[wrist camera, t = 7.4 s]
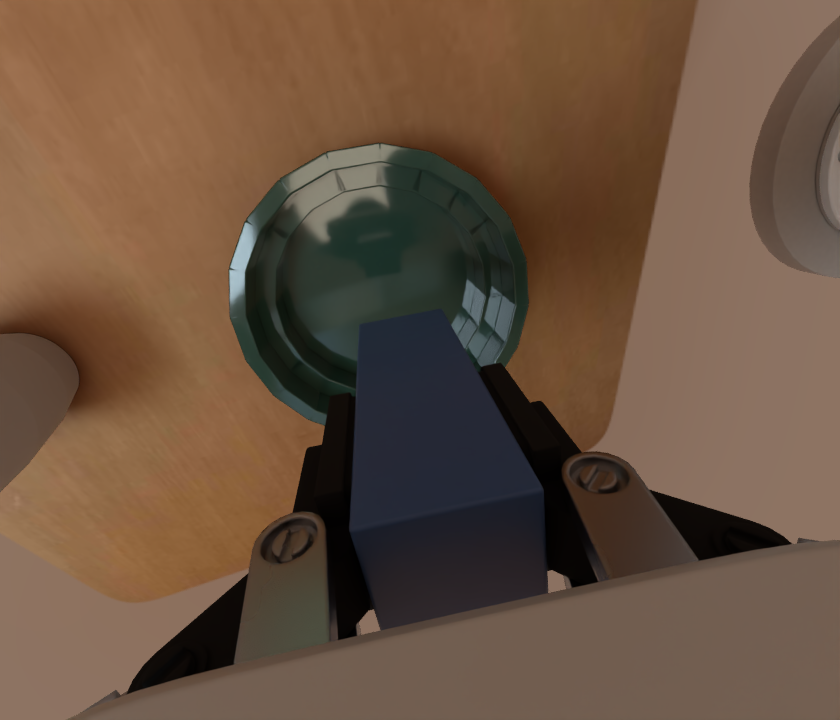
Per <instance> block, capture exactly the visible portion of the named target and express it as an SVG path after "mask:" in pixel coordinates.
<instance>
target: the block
mask: <svg viewBox="0 0 840 720" xmlns="http://www.w3.org/2000/svg"><path fill="white" fill-rule="evenodd" d="M349 532H350V535H351V538H352V541H353V544H354V547H355V551H356V554H357V557H358V560H359V563H360V566H361V570H362V573H363V576H364V579H365V582H366V586H367V589H368V592H369V595H370V598H371V601H372V605H373V608H374V611H375V614H376V617H377V620H378V624H379V627H380V630H385V629H390V628H394V627H398V626H403V625H407V624H412V623H416V622H421V621H425V620H430V619H434V618H439V617H443V616H448V615H452V614H457V613H461V612H466V611H470V610H474V609H479V608H483V607H488V606H492V605H497V604H502V603H506V602H511V601H515V600H520V599H524V598H529V597H533V596H538V595H542V594H547V593H548V576H547V553H546V530H545V507H544V489H543V487H542V485H541V484H540V482H539V480H538V478H537V476H536V475H535V473H534V471H533V469H532V468H531V466H530V464H529V462H528V461H527V459H526V457H525V455H524V453H523V452H522V450H521V448H520V446H519V445H518V443H517V441H516V439H515V437H514V436H513V434H512V432H511V430H510V429H509V427H508V425H507V423H506V422H505V420H504V418H503V416H502V414H501V413H500V411H499V409H498V407H497V406H496V404H495V402H494V400H493V398H492V397H491V395H490V393H489V391H488V390H487V388H486V386H485V384H484V382H483V381H482V379H481V377H480V375H479V374H478V372H477V370H476V368H475V367H474V365H473V363H472V361H471V359H470V358H469V356H468V354H467V352H466V351H465V349H464V347H463V345H462V343H461V342H460V340H459V338H458V336H457V335H456V333H455V331H454V329H453V328H452V326H451V324H450V322H449V320H448V319H447V317H446V315H445V313H444V312H443V310H442V309H436V310H431V311H426V312H421V313H415V314H410V315H405V316H400V317H394V318H389V319H384V320H379V321H373V322H368V323H363V324H360V325H359V339H358V359H357V379H356V400H355V420H354V441H353V461H352V481H351V502H350V522H349Z"/></svg>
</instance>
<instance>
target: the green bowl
mask: <svg viewBox="0 0 840 720" xmlns="http://www.w3.org/2000/svg"><path fill="white" fill-rule="evenodd" d="M528 304H529V297H528V277H527V261H526V257H525V254H524V252H523V249H522V247H521V244H520V241H519V239H518V236H517V234H516V231H515V229H514V226H513V223H512V221H511V218H510V217H509V215H508V214H507V213H506V211H505V210H504V209H503V208H502V207H501V206H500V204H499V203H498V202H497V201H496V200H495V198H494V197H493V196H492V195H491V194H490V193H489V191H488V190H487V189H486V188H485V187H484V185H483V184H482V183H481V182H480V181H479V180H478V179H477V178H476V177H474V176H473V175H471V174H469V173H467V172H466V171H464V170H462V169H461V168H459V167H457V166H455V165H454V164H452V163H450V162H449V161H447V160H445V159H443V158H442V157H440V156H438V155H437V154H435V153H432V152H429V151H423V150H418V149H412V148H407V147H402V146H396V145H391V144H385V143H374V144H368V145H362V146H356V147H350V148H345V149H339V150H333V151H327V152H326V153H323V154H321V155H319V156H318V157H316V158H314V159H312V160H311V161H309V162H307V163H306V164H304V165H302V166H300V167H299V168H297V169H295V170H293V171H292V172H290V173H288V174H287V175H285V176H283V177H281V178H280V180H278V181H277V182H276V183H275V184H274V185H273V187H272V188H271V189H270V190H269V192H268V193H267V194H266V195H265V196H264V198H263V199H262V200H261V201H260V203H259V204H258V205H257V206H256V207H255V209H254V210H253V211H252V212H251V214H250V215H249V216H248V217H247V219H246V221H245V222H244V225H243V228H242V231H241V234H240V237H239V239H238V242H237V245H236V248H235V251H234V254H233V257H232V260H231V263H230V266H229V310H230V319H231V322H232V325H233V327H234V330H235V333H236V335H237V338H238V341H239V344H240V346H241V349H242V352H243V354H244V357H245V360H246V362H247V363H248V364H249V365H250V367H251V368H252V369H253V371H254V372H255V373H256V374H257V376H258V377H259V378H260V379H261V381H262V382H263V383H264V384H265V386H266V387H267V388H268V389H269V391H270V392H271V393H272V395H273V396H275V397H276V398H277V399H279V400H280V401H282V402H283V403H285V404H286V405H288V406H289V407H290V408H292V409H293V410H295V411H296V412H298V413H299V414H301V415H302V416H303V417H305V418H306V419H308V420H310V421H313V422H316V423H319V424H322V425H325V423H326V417H327V411H328V405H329V399H330V396H333V395H338V394H343V393H348V392H350V393H351V395H352V397H354V396H356V379H357V359H358V339H359V325H360V324H363V323H368V322H373V321H379V320H384V319H389V318H394V317H400V316H405V315H410V314H415V313H421V312H426V311H431V310H436V309H442V310H443V312H444V313H445V315H446V317H447V319H448V320H449V322H450V324H451V326H452V328H453V329H454V331H455V333H456V335H457V336H458V338H459V340H460V342H461V343H462V345H463V347H464V349H465V351H466V352H467V354H468V356H469V358H470V359H471V361H472V363H473V365H474V367H475V368H476V370H477V372H480V369H481V366H485V365H490V364H495V363H500V362H501V363H502V365H503V366H504V367H506V365H507V364H508V362H509V360H510V359H511V357H512V355H513V354H514V352H515V350H516V349H517V347H518V344H519V340H520V337H521V333H522V329H523V325H524V321H525V317H526V314H527V310H528Z"/></svg>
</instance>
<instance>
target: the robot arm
mask: <svg viewBox="0 0 840 720" xmlns="http://www.w3.org/2000/svg"><path fill="white" fill-rule="evenodd" d="M815 181H816V193H817V200H818V203H819V206H820V209H821V212H822V214H823V216H824V217H825V219H826V220H827V222H828V224H830V225H831V226H832V227H833V228H834V229H835V230H836V231H838V232H839V233H840V105H839V107H838V109H837V111H836V113H835V114H834V116H833V118H832V120H831V122H830V124H829V127H828V129H827V132H826V134H825V137H824V139H823V142H822V145H821V149H820V153H819V157H818V161H817V170H816V180H815ZM478 374H479V375H480V377H481V379H482V381H483V382H484V384H485V386H486V388H487V390H488V391H489V393H490V395H491V397H492V398H493V400H494V402H495V404H496V406H497V407H498V409H499V411H500V413H501V414H502V416H503V418H504V420H505V422H506V423H507V425H508V427H509V429H510V430H511V432H512V434H513V436H514V437H515V439H516V441H517V443H518V445H519V446H520V448H521V450H522V452H523V453H524V455H525V457H526V459H527V461H528V462H529V464H530V466H531V468H532V469H533V471H534V473H535V475H536V476H537V478H538V480H539V482H540V484H541V485H542V487H543V489H544V507H545V530H546V553H547V571H549V570H553V571H556V572H557V573H560V574H562V575H563V576H564V582H565V586H566V589H565V590H560V591H556V592H551V593H547V594H542V595H538V596H533V597H529V598H524V599H520V600H515V601H511V602H506V603H502V604H497V605H492V606H488V607H483V608H479V609H474V610H470V611H466V612H461V613H457V614H452V615H448V616H443V617H439V618H434V619H430V620H425V621H421V622H416V623H412V624H407V625H403V626H398V627H394V628H390V629H385V630H381V631H377V632H372V633H368V634H364V635H361V629H360V626H359V621H360V620H361V619H362V617H363V616H364V615H365V614H366V613H367V612H368V610H372V609H374V608H373V605H372V601H371V598H370V595H369V592H368V589H367V586H366V582H365V579H364V576H363V573H362V570H361V566H360V563H359V560H358V557H357V554H356V551H355V547H354V544H353V541H352V538H351V535H350V532H349V522H350V502H351V481H352V461H353V441H354V420H355V400H356V396H354V397H352V395H351V393H350V392H348V393H343V394H338V395H333V396H330V399H329V405H328V411H327V417H326V423H325V429H324V436H323V442H322V445H318V446H313V447H309V448H307V450H306V453H305V458H304V463H303V467H302V472H301V476H300V481H299V486H298V490H297V495H296V499H295V504H294V509H293V513H290V514H288V515H285V516H283V517H280V518H279V519H277V520H276V521H274V522H272V523H271V524H270V525H269V526H267V527H266V528H265V529H264V530H263V531H262V532H261V534H260V535H259V536H258V538H257V539H256V541H255V544H254V546H253V549H252V555H251V561H250V567H249V573H248V574H247V575H246V576H245V577H243V578H242V579H241V580H240V581H239V582H238V583H236V584H235V585H234V586H233V587H232V588H231V589H229V590H228V591H227V592H226V593H225V594H224V595H222V596H221V597H220V598H219V599H218V600H217V601H216V602H214V603H213V604H212V605H211V606H210V607H209V608H207V609H206V610H205V611H204V612H203V613H202V614H200V615H199V616H198V617H197V618H196V619H195V620H194V621H192V622H191V623H190V624H189V625H188V626H187V627H185V628H184V629H183V630H182V631H181V632H180V633H178V634H177V635H176V636H175V637H174V638H173V639H171V640H170V641H169V642H168V643H167V644H166V645H165V646H163V647H162V648H161V649H160V650H159V651H157V652H156V653H155V654H154V655H153V656H152V657H151V658H150V660H148V661H147V662H146V663H145V664H144V666H143V667H142V668H141V670H140V671H139V672H138V674H137V675H136V677H135V678H134V679H133V681H132V684H131V685H130V687H129V690H128V691H127V692H125V693H123V694H122V695H120V694H119V693H118V692H117V690H115V691H113V692H112V693H110V694H109V695H107V696H106V697H104V698H103V699H101V700H100V701H98V702H97V703H95V704H93V705H92V706H90V707H89V708H87V709H86V710H85V711H83V712H81V713H80V714H78V715H76V716H73V717H71V718H69V719H67V720H840V541H839V540H832V541H815V540H809V539H802V538H798V542H797V544H792V543H791V542H789V541H788V540H787V539H786V538H785V537H784V536H782V535H780V534H779V533H777V532H775V531H774V530H772V529H770V528H768V527H766V526H763V525H761V524H758V523H756V522H753V521H750V520H747V519H743V518H740V517H737V516H734V515H730V514H727V513H724V512H720V511H717V510H714V509H710V508H707V507H704V506H701V505H697V504H694V503H691V502H688V501H684V500H681V499H678V498H674V497H671V496H668V495H665V494H661V493H658V492H655V491H652V490H649V489H648V488H647V487H646V485H645V483H644V482H643V481H642V479H641V478H640V476H639V475H638V474H637V472H636V471H635V469H634V468H633V467H632V466H631V465H630V464H629V463H628V462H626V461H625V460H623V459H621V458H619V457H617V456H614V455H611V454H609V453H602V452H597V451H596V452H583V453H582V452H581V451H580V450H579V448H578V447H577V446H576V444H575V443H574V442H573V441H572V439H571V438H570V437H569V435H568V434H567V433H566V432H565V430H564V429H563V428H562V426H561V425H560V424H559V423H558V421H557V420H556V419H555V417H554V416H553V415H552V414H551V412H550V411H549V410H548V408H547V407H546V406H545V405H544V403H543V402H541V401H536V402H531V403H530V402H529V401H528V399H527V398H526V397H525V395H524V394H523V392H522V391H521V390H520V388H519V387H518V385H517V384H516V383H515V381H514V380H513V378H512V377H511V376H510V374H509V373H508V371H507V370H506V369H505V367H504V366H503V365H502V363H501V362H500V363H495V364H490V365H485V366H481V369H480V372H478Z"/></svg>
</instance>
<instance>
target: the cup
mask: <svg viewBox="0 0 840 720" xmlns="http://www.w3.org/2000/svg"><path fill="white" fill-rule="evenodd" d="M78 386H79V374H78V370H77V367H76V365H75V363H74V362H73V360H72V359H71V357H70V356H69V355H68V354H67V353H66V352H65V351H64V350H63V349H62V348H60V347H59V346H58V345H56V344H55V343H53V342H51V341H49V340H47V339H45V338H42V337H39V336H36V335H32V334H25V333H12V334H0V492H1V491H2V490H3V489H4V488H5V487H6V486H7V485H8V484H9V483H10V482H11V481H12V480H13V479H14V478H15V477H16V476H17V475H18V474H19V473H20V472H21V471H22V470H23V469H24V468H25V467H26V466H27V465H28V464H29V463H30V461H31V460H32V459H33V457H34V456H35V455H36V454H37V452H38V451H39V450H40V448H41V447H42V446H43V445H44V443H45V442H46V441H47V439H48V438H49V437H50V436H51V434H52V433H53V432H54V430H55V429H56V428H57V427H58V425H59V424H60V423H61V421H62V420H63V418H64V417H65V414H66V412H67V410H68V408H69V406H70V404H71V402H72V400H73V398H74V395H75V393H76V391H77V389H78Z"/></svg>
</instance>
